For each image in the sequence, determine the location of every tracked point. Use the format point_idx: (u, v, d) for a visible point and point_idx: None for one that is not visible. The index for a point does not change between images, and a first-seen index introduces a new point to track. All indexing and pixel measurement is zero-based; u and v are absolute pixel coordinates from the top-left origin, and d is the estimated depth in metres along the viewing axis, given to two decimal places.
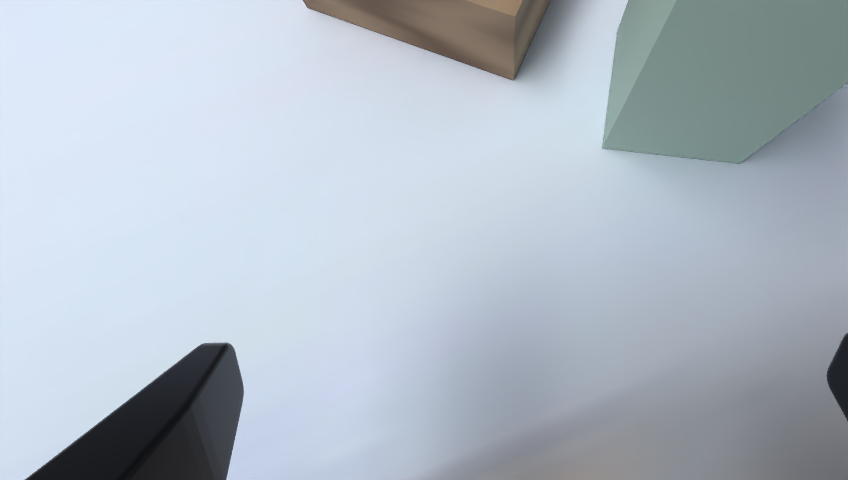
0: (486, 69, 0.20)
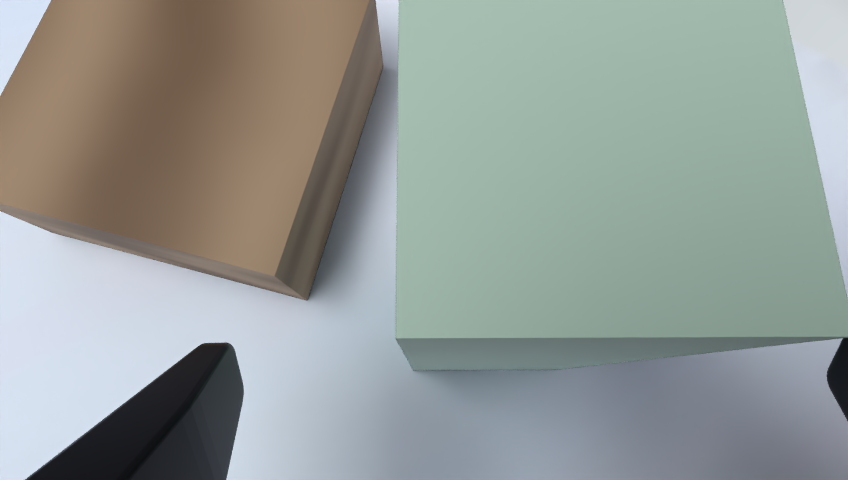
0: (274, 291, 0.17)
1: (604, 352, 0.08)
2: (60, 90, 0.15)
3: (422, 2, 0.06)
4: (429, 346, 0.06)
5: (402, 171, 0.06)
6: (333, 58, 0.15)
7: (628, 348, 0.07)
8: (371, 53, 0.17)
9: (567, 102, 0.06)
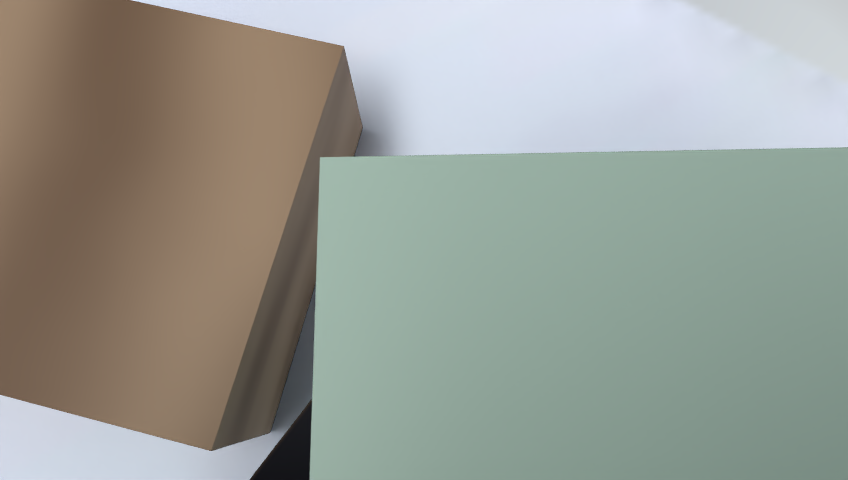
0: None
1: None
2: None
3: (368, 273, 0.03)
4: None
5: None
6: (291, 142, 0.12)
7: None
8: (345, 121, 0.14)
9: None
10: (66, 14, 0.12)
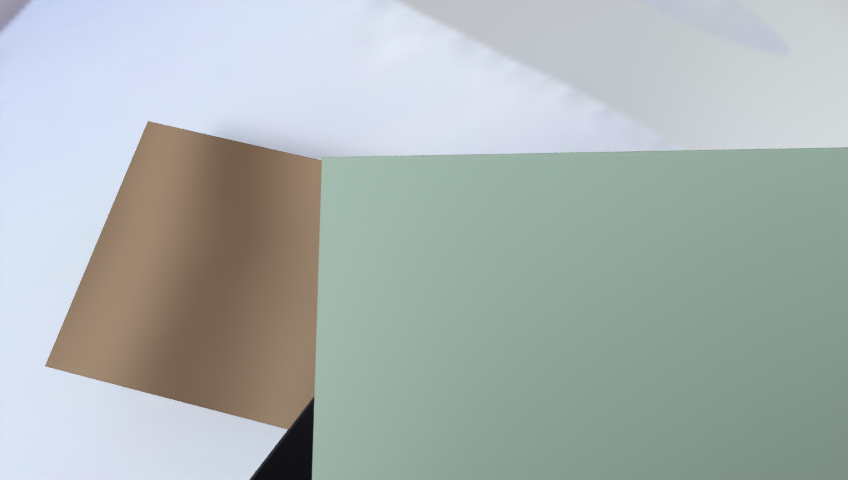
0: None
1: None
2: (130, 274, 0.18)
3: (370, 273, 0.03)
4: None
5: None
6: None
7: None
8: None
9: None
10: (203, 153, 0.19)
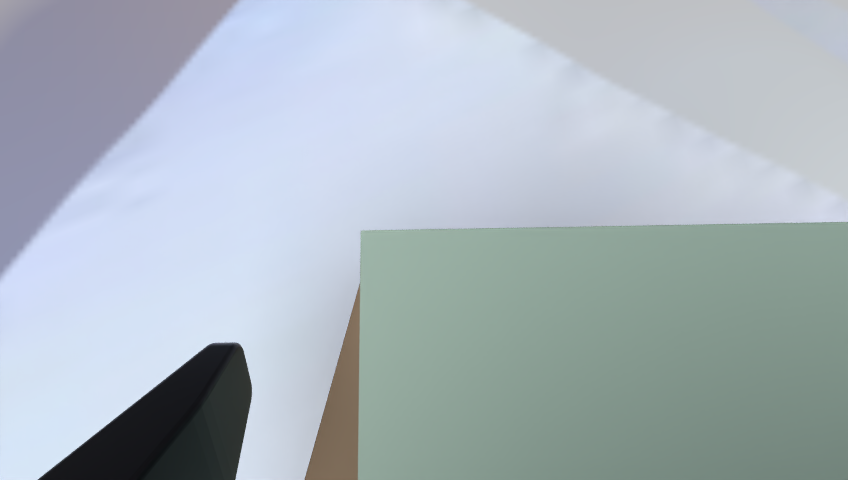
0: None
1: None
2: None
3: (395, 310, 0.04)
4: None
5: None
6: None
7: None
8: None
9: None
10: None
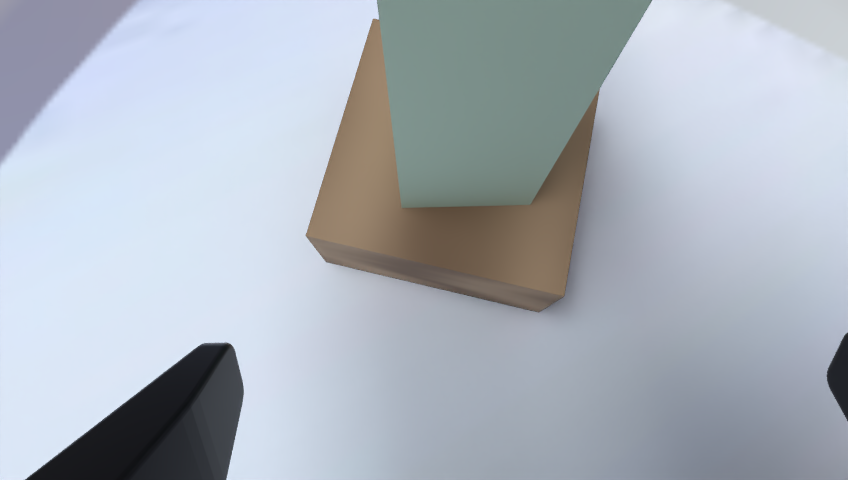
0: (512, 305, 0.22)
1: (543, 31, 0.09)
2: (374, 154, 0.19)
3: None
4: None
5: None
6: (581, 124, 0.19)
7: None
8: None
9: None
10: None
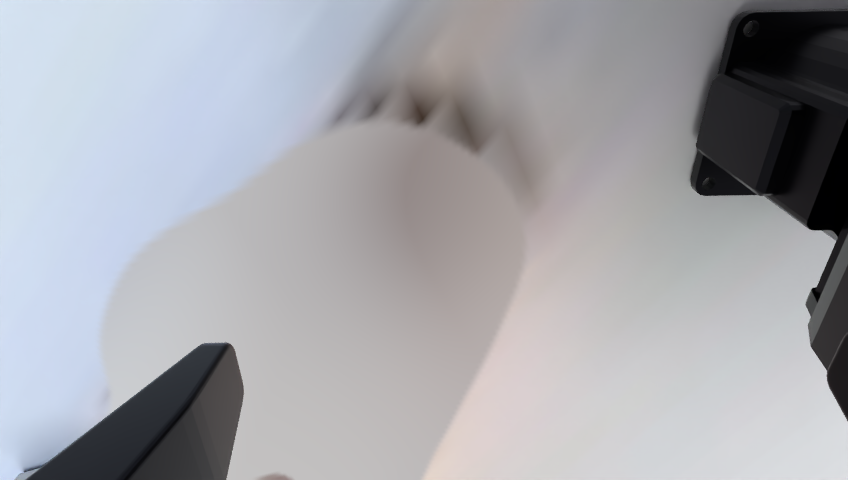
0: None
1: None
2: None
3: None
4: None
5: None
6: None
7: None
8: None
9: None
10: None
